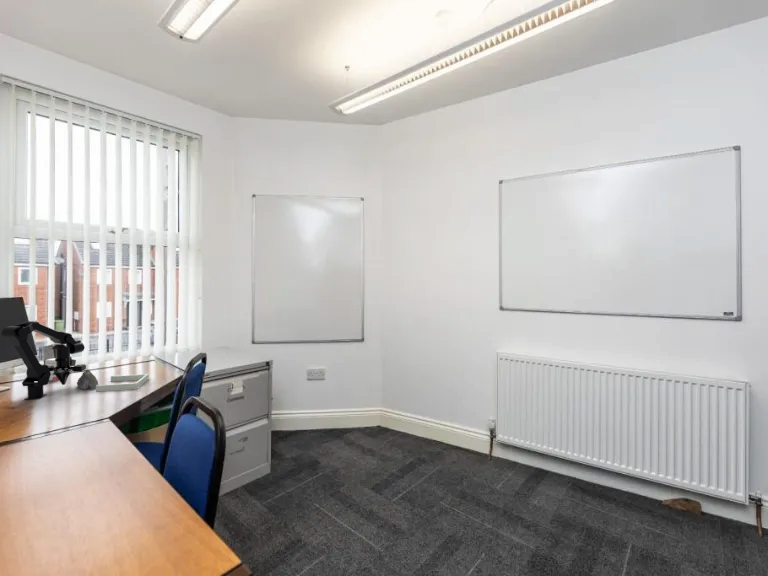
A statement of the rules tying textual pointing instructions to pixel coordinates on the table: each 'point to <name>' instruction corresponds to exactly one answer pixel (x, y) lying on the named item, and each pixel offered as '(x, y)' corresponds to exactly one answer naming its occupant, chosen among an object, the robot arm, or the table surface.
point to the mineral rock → (87, 380)
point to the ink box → (52, 377)
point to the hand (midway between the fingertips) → (63, 384)
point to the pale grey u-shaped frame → (140, 377)
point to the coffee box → (49, 352)
